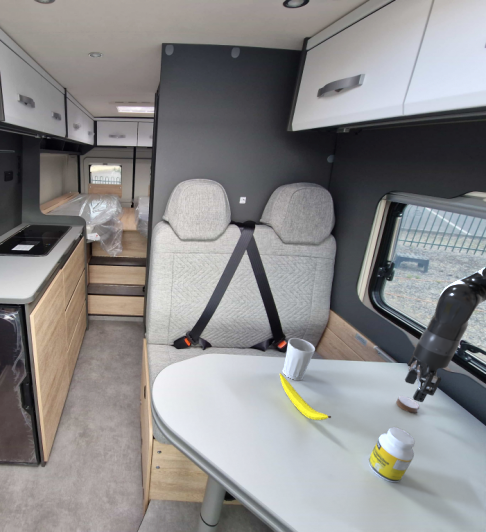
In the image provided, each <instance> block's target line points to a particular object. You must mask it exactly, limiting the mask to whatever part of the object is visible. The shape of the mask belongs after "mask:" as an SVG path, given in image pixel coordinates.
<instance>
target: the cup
mask: <svg viewBox="0 0 486 532" xmlns="http://www.w3.org/2000/svg"><path fill="white" fill-rule="evenodd" d="M315 352H316V347H315V346H314V344H313V343H311V342H310V341H308V340H305V339H302V338H299V337H291V338H289V339H288V341H287V347H286V353H285V359H284V364H283V368H282V373H283V375H284V374H285V375H286V376H285V375H284V376H285V377H287V378H288V377H289V378H288V379H290V378H291V379H290V380H292V379H294V380H293V381H301V380H303V378H304V375H305V374H306V371H307V369H308V367H309V364H310V362H311V360H312V358H313V356H314V353H315Z"/></svg>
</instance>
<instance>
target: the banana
mask: <svg viewBox="0 0 486 532" xmlns="http://www.w3.org/2000/svg"><path fill="white" fill-rule="evenodd" d="M279 378H280V383H281V386H282V388H283V390H284V392H285V394H286V395H287V397H288V399H289V400H290V401H291V402H292V404H293V405H294V406H295V408H296V409H297V410H298V411H299V412H300V413H301V414H302V415H304V416H305V417H306V418H308V419H311V420H314V421H323V420H324V421H325V420H327V419H331V418H332V416H331V415H328V414H326V413H323V412H320V411H318V410H316V409H314V408H313V407H312V406H311V405H309V403H307V401H306V400H305V399H304V398H303V397H302V396H301V395H300V394H299V392H298V391H296V389H295V388H294V386H293V385H292V384H291V383H290V382H289V381H288V380H287V378H286V376H285V375H284V374H282V373H281V372H279Z"/></svg>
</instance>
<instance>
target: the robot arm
mask: <svg viewBox="0 0 486 532" xmlns="http://www.w3.org/2000/svg"><path fill="white" fill-rule="evenodd" d="M485 301H486V266H484V267H483V268H482V269H481V270H478V271H476V272H474V273H472V274H470V275H468V276H465V277H463V278H460V279H459V280H457V281H454V282H452V283H451V284H449V285H448V286H445V288H444V289H443V290H442V292H441V293H440V296H439V298H438V301H437V303H436V307H435V310H434V312H433V313H434V314H433V315H432V317H431V318H430V320H429V322H428V324H427V326H426V328H425V329H424V331H423V332H422V333H421V335H420V337H419V339H418V342H417V344H416V346H415V348H414V350H413V352H412V355H411V357H410V359H409V361H408V363H407V367H408V372H407V375H406V377H405V378H404V380H405V381H404V382H405V383H406V384H410V385H415V383H416V381H417V382H418V383H417V384H418V385H417V389H416V390H415V392H414V394H413V396H412V400H414V401H415V402H418V403H423V402H424V401H425V400H426V398H427V396H428V395H429V396H432V397H433V396H434V395H435V393H436V391H437V389H438V387H439V385H440V383H441V382H442V377H441V376H437V373H438V370H439V369H445V368H447V367H448V366H449V365H450V363H451V361H452V359H453V357H454V355H455V354H456V352H457V350H458V348H459V346H460V342H461V341H462V338H463V336H464V335H465V332H466V331H467V329H468V327H469V320H470V318H471V317H472V315H473V314H474V312H475V310H476V309H477V308H478V306H479V305H480V304H482V303H484V302H485Z"/></svg>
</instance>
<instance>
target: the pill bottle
mask: <svg viewBox="0 0 486 532" xmlns="http://www.w3.org/2000/svg"><path fill="white" fill-rule="evenodd" d="M415 444H416V441H415V438H414V437H413V436H412V435H411V434H410V433H408V432H407V431H406V430H404V429H402V428H399V427H395V426H391V427H389V428H388V430H387V432H386V433H385V432H384V433H382V434H380V436H379V437H378V439H377V441H376V443H375V445H374V447H373V449H372V452H371V453H370V455H369V457H368V465H369V467H370V469H371V470H372V472H374V474H376V475H377V476H378V477H379V478H381V479H383V480H384V481H388V482H390V483H399V482H400V481H401V480H402V479H403V477H404V475H405V473H406V472H407V470H408V468H409V466H410V464H411V463H412V461H413V460H414V457H415V452H414V449H413V448H414V446H415Z"/></svg>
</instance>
